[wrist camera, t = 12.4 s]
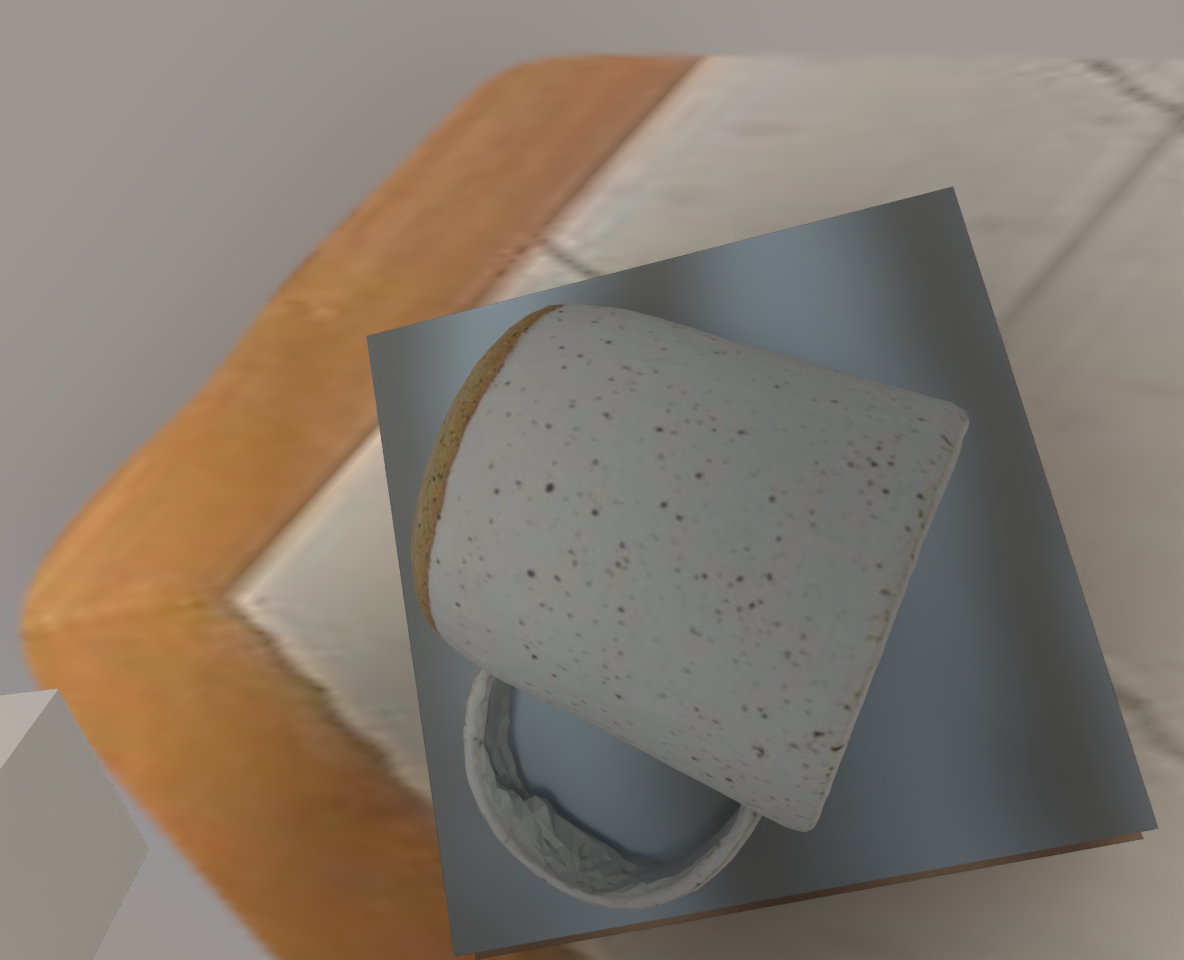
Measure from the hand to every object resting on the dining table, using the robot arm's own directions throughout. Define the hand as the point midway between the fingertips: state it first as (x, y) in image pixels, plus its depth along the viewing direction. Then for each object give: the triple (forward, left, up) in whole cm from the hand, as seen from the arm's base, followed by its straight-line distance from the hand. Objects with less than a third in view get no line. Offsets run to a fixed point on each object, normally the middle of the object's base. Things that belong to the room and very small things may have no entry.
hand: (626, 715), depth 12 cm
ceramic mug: (0, -2, -11) cm, 11 cm away
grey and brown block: (-1, -4, -17) cm, 17 cm away
